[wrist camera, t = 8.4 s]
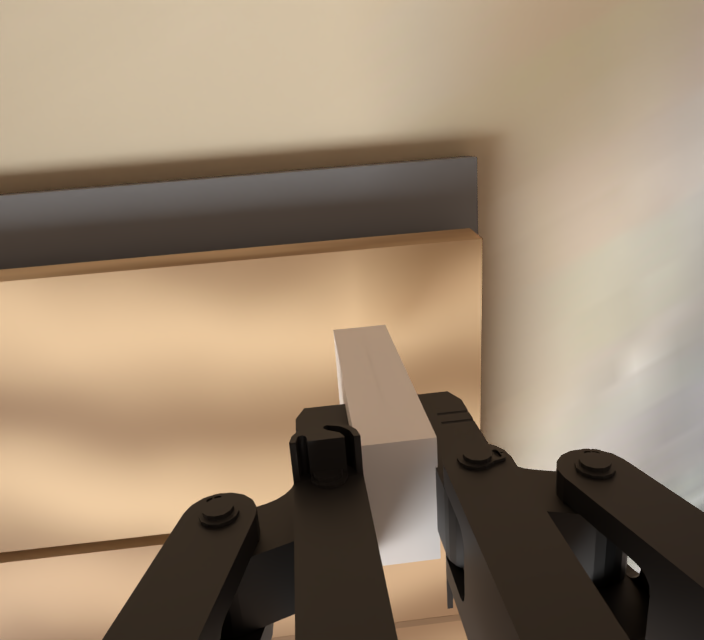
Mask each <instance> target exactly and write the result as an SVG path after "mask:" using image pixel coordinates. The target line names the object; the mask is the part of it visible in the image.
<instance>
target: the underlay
mask: <svg viewBox="0 0 704 640" xmlns="http://www.w3.org/2000/svg"><path fill="white" fill-rule="evenodd" d="M465 228H470V229H472V230H473V231H474V232H475V233H476V234H477V235H478V200H477V157H473V156H463V157H451V158H438V159H426V160H414V161H402V162H389V163H377V164H365V165H353V166H340V167H328V168H316V169H304V170H291V171H279V172H267V173H255V174H242V175H230V176H218V177H206V178H193V179H181V180H169V181H157V182H145V183H132V184H120V185H108V186H96V187H83V188H71V189H59V190H47V191H34V192H22V193H10V194H0V270H1V269H13V268H24V267H35V266H47V265H58V264H69V263H81V262H92V261H103V260H114V259H126V258H137V257H148V256H160V255H171V254H182V253H194V252H205V251H216V250H227V249H239V248H250V247H261V246H273V245H284V244H295V243H307V242H318V241H329V240H341V239H352V238H363V237H374V236H386V235H397V234H408V233H420V232H431V231H442V230H454V229H465Z"/></svg>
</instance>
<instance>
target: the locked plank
mask: <svg viewBox="0 0 704 640" xmlns="http://www.w3.org/2000/svg"><path fill="white" fill-rule="evenodd" d="M170 534H171V533H168V534H159V535H151V536H142V537H133V538H124V539H116V540H107V541H98V542H89V543H80V544H72V545H63V546H54V547H45V548H37V549H28V550H19V551H10V552H1V553H0V640H102V639H103V637H104V636H105V634H106V633H107V631H108V630H109V628H110V626H111V625H112V623H113V622H114V620H115V619H116V617H117V616H118V614H119V613H120V611H121V609H122V608H123V606H124V605H125V603H126V602H127V600H128V599H129V597H130V596H131V594H132V592H133V591H134V589H135V588H136V586H137V585H138V583H139V582H140V580H141V578H142V577H143V575H144V574H145V572H146V571H147V569H148V568H149V566H150V565H151V563H152V561H153V560H154V558H155V557H156V555H157V554H158V552H159V551H160V549H161V548H162V546H163V544H164V543H165V541H166V540H167V538H168V537H169V535H170ZM440 552H441V559H433V560H425V561H417V562H410V563H402V564H394V565H386V566H383V571H384V575H385V580H386V585H387V590H388V595H389V599H390V604H391V609H392V614H393V619H394V623H395V628H396V633H397V638H398V640H468V639H467V636H466V633H465V630H464V627H463V624H462V621H461V618H460V615H459V612H458V609H457V606H456V603H455V600H454V598H453V608H450V609H448V608H447V582H446V553H445V550H444V547H443V544H442V541H441V539H440ZM271 640H295V614H294V615H292V616H289V617H287V618H284V619H282V620H279V621H277V622H274V626H273V635H272V638H271Z"/></svg>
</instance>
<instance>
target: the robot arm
mask: <svg viewBox="0 0 704 640" xmlns="http://www.w3.org/2000/svg"><path fill="white" fill-rule="evenodd" d="M333 332H334V344H335V355H336V367H337V378H338V389H339V401H340V404H339V405H330V406H320V407H311V408H304V409H303V410H302V412H301V413H300V414H299V415H298V417H297V418H296V433H295V434H294V435H293V436H292V437H291V439H290V442H289V448H290V457H291V465H292V473H293V482H294V485H293V486H292V488H291V489H290V490H289V491H288V492H287V493H286V494H285V495H283V496H281V497H280V498H278V499H276V500H274V501H271V502H269V503H267V504H264V505H261V506H258V507H257V506H256V505H255V503H254V501H253V499H251V498H249V497H247V496H246V495H244V494H238V493H232V492H231V493H219V494H214V495H212V496H208V497H205V498H203V499H201V500H199V501H198V502H196V503H194V504H193V505H191V506H190V507H189V508H188V509H187V510H186V511H185V512H184V514H183V515H182V517H181V518H180V520H179V521H178V523H177V524H176V526H175V527H174V529H173V530H172V532H171V534H170V535H169V537H168V538H167V540H166V541H165V543H164V544H163V546H162V548H161V549H160V551H159V552H158V554H157V555H156V557H155V558H154V560H153V561H152V563H151V565H150V566H149V568H148V569H147V571H146V572H145V574H144V575H143V577H142V578H141V580H140V582H139V583H138V585H137V586H136V588H135V589H134V591H133V592H132V594H131V596H130V597H129V599H128V600H127V602H126V603H125V605H124V606H123V608H122V609H121V611H120V613H119V614H118V616H117V617H116V619H115V620H114V622H113V623H112V625H111V626H110V628H109V630H108V631H107V633H106V634H105V636H104V637H103V639H102V640H271V638H272V635H273V626H274V622H277V621H279V620H282V619H284V618H287V617H289V616H292V615H294V614H295V640H398V638H397V633H396V628H395V623H394V619H393V614H392V609H391V604H390V599H389V595H388V590H387V585H386V580H385V575H384V571H383V566H386V565H394V564H402V563H410V562H417V561H425V560H433V559H441V552H440V539H441V541H442V544H443V547H444V550H445V553H446V582H447V608H448V609H450V608H453V598H454V600H455V603H456V606H457V609H458V612H459V615H460V618H461V621H462V624H463V627H464V630H465V633H466V636H467V639H468V640H704V512H702V511H701V510H699V509H698V508H696V507H695V506H693V505H692V504H690V503H689V502H687V501H686V500H684V499H683V498H681V497H680V496H678V495H677V494H675V493H674V492H672V491H671V490H669V489H668V488H666V487H665V486H663V485H662V484H660V483H659V482H657V481H656V480H654V479H653V478H651V477H650V476H648V475H647V474H645V473H644V472H642V471H641V470H639V469H638V468H636V467H635V466H633V465H632V464H630V463H629V462H627V461H626V460H624V459H622V458H620V457H618V456H616V455H614V454H612V453H608V452H604V451H601V450H597V449H592V450H591V449H581V450H573V451H570V452H567V453H565V454H563V455H561V457H560V458H559V459H558V461H557V469H556V471H543V470H532V469H525V468H521V467H518V466H517V465H516V463H515V462H514V460H513V459H512V457H511V456H510V455H509V454H508V453H507V452H506V451H505V450H503V449H501V448H499V447H496V446H494V445H490V444H488V442H487V441H486V439H485V437H484V436H483V434H482V432H481V431H480V429H479V427H478V426H477V424H476V423H475V421H473V418H472V416H471V414H470V413H469V412H468V409H467V408H466V406H465V404H464V403H463V401H462V400H461V399H460V398H458V397H456V396H455V395H453V394H451V393H450V392H448V391H445V392H435V393H426V394H417V393H416V391H415V389H414V387H413V384H412V382H411V380H410V378H409V376H408V373H407V371H406V369H405V367H404V365H403V363H402V360H401V358H400V356H399V354H398V352H397V349H396V347H395V345H394V343H393V341H392V339H391V336H390V334H389V332H388V330H387V328H386V325H377V326H367V327H357V328H347V329H337V330H333ZM627 556H629V557H630V558H631V559H632V560H633V561H634V562H635V563H636V564H637V565H638V566H639V567H640V568H641V571H640V574H639V573H638V572H636V571H634V570H633V569H632V568H631V567H630V566H629V565H628V564H627Z"/></svg>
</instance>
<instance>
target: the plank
mask: <svg viewBox="0 0 704 640" xmlns="http://www.w3.org/2000/svg"><path fill="white" fill-rule="evenodd" d="M482 241H483V239H482V238H481V237H480V236H479V235H477V234H476V233H475V232H474V231H473V230H472V229H470V228H465V229H454V230H442V231H431V232H420V233H408V234H397V235H386V236H374V237H363V238H352V239H341V240H329V241H318V242H307V243H295V244H284V245H273V246H261V247H250V248H239V249H227V250H216V251H205V252H194V253H182V254H171V255H160V256H148V257H137V258H126V259H114V260H103V261H92V262H81V263H69V264H58V265H47V266H35V267H24V268H13V269H1V270H0V553H1V552H10V551H19V550H28V549H37V548H45V547H54V546H63V545H72V544H80V543H89V542H98V541H107V540H116V539H124V538H133V537H142V536H151V535H159V534H168V533H171V532H172V530H173V529H174V527H175V526H176V524H177V523H178V521H179V520H180V518H181V517H182V515H183V514H184V512H185V511H186V510H187V509H188V508H189V507H190V506H191V505H193V504H194V503H196V502H198V501H199V500H201V499H203V498H205V497H208V496H212V495H214V494H219V493H231V492H232V493H238V494H244V495H246V496H247V497H249V498H251V499H253V501H254V503H255V505H256V506H257V507H258V506H261V505H264V504H267V503H269V502H271V501H274V500H276V499H278V498H280V497H281V496H283V495H285V494H286V493H287V492H288V491H289V490H290V489H291V488H292V486H293V485H294V482H293V473H292V465H291V457H290V448H289V442H290V439H291V437H292V436H293V435H294V434H295V433H296V418H297V417H298V415H299V414H300V413H301V412H302V410H303V409H304V408H311V407H320V406H330V405H339V404H340V401H339V389H338V378H337V367H336V355H335V344H334V332H333V330H337V329H347V328H357V327H367V326H377V325H386V328H387V330H388V332H389V334H390V336H391V339H392V341H393V343H394V345H395V347H396V349H397V352H398V354H399V356H400V358H401V360H402V363H403V365H404V367H405V369H406V371H407V373H408V376H409V378H410V380H411V382H412V384H413V387H414V389H415V391H416V393H417V394H426V393H435V392H445V391H448V392H450V393H451V394H453V395H455V396H456V397H458V398H460V399H461V400H462V401H463V403H464V404H465V406H466V408H467V409H468V412H469V413H470V414H471V416H472V418H473V421H475V423H476V424H477V426H478V427H479V429H480V410H481V325H482Z"/></svg>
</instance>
